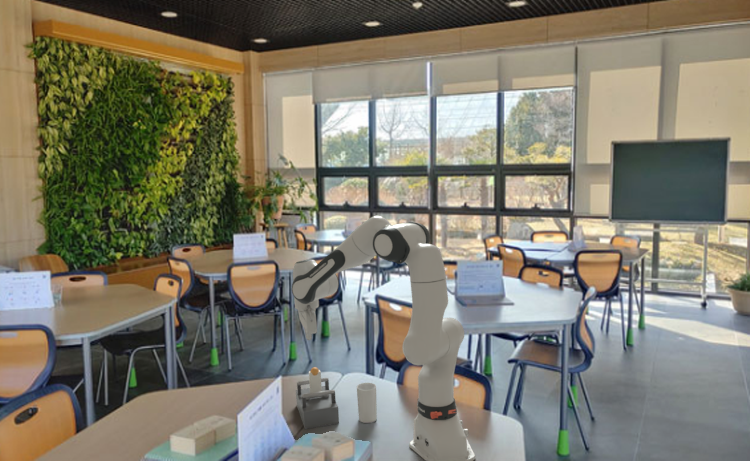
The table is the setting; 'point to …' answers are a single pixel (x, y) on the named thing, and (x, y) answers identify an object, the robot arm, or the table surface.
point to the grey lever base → (317, 405)
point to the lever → (315, 381)
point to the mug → (367, 402)
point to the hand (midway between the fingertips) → (308, 338)
